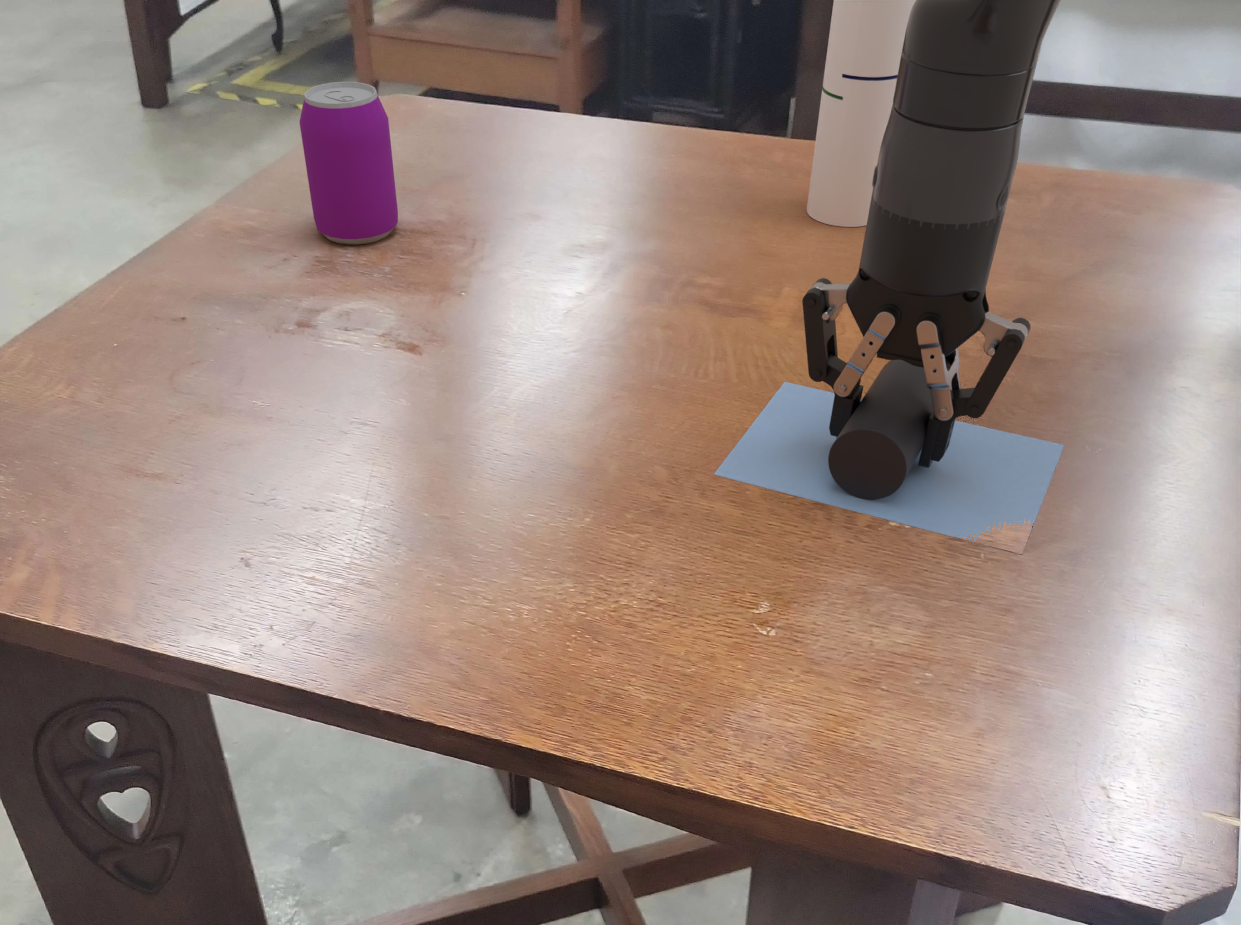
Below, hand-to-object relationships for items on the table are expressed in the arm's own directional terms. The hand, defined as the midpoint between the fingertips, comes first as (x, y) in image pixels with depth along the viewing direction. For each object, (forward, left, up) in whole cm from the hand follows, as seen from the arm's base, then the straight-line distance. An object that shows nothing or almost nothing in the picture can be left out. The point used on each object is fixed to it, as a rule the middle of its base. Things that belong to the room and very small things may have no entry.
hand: (884, 449), depth 79 cm
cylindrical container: (+15, -41, -1) cm, 44 cm away
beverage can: (+54, -17, -1) cm, 57 cm away
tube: (-1, 0, -1) cm, 1 cm away
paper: (-1, 0, -1) cm, 1 cm away
